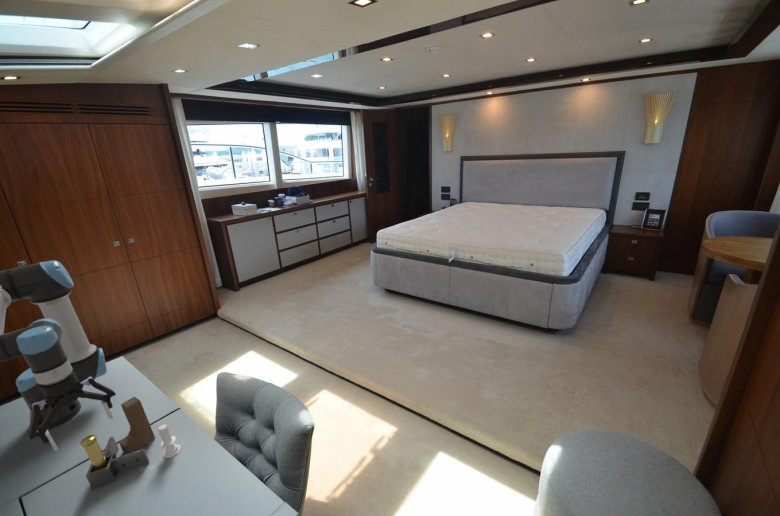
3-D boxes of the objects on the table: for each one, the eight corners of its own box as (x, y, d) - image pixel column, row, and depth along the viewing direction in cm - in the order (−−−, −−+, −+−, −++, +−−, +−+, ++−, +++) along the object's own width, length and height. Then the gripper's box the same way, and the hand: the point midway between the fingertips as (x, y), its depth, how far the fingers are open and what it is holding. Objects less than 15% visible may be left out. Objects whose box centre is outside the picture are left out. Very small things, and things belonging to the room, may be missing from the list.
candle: (166, 461, 116) (155, 435, 112) (161, 452, 119) (151, 426, 115) (183, 450, 119) (173, 424, 115) (178, 442, 123) (168, 417, 119)
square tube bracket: (107, 452, 121) (101, 440, 119) (155, 436, 126) (150, 423, 124) (92, 489, 108) (85, 476, 106) (147, 469, 113) (141, 456, 111)
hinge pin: (98, 479, 111) (78, 441, 105) (112, 470, 114) (93, 432, 108) (102, 485, 109) (82, 446, 103) (116, 475, 112) (97, 437, 106)
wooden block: (128, 457, 118) (110, 417, 112) (122, 451, 121) (104, 412, 115) (155, 438, 125) (140, 400, 119) (150, 433, 128) (134, 395, 122)
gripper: (-4, 411, 86) (32, 469, 94) (112, 357, 105) (134, 410, 112) (-9, 399, 90) (26, 456, 98) (104, 350, 109) (126, 401, 116)
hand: (84, 431), depth 105 cm, fingers open, 13 cm apart
